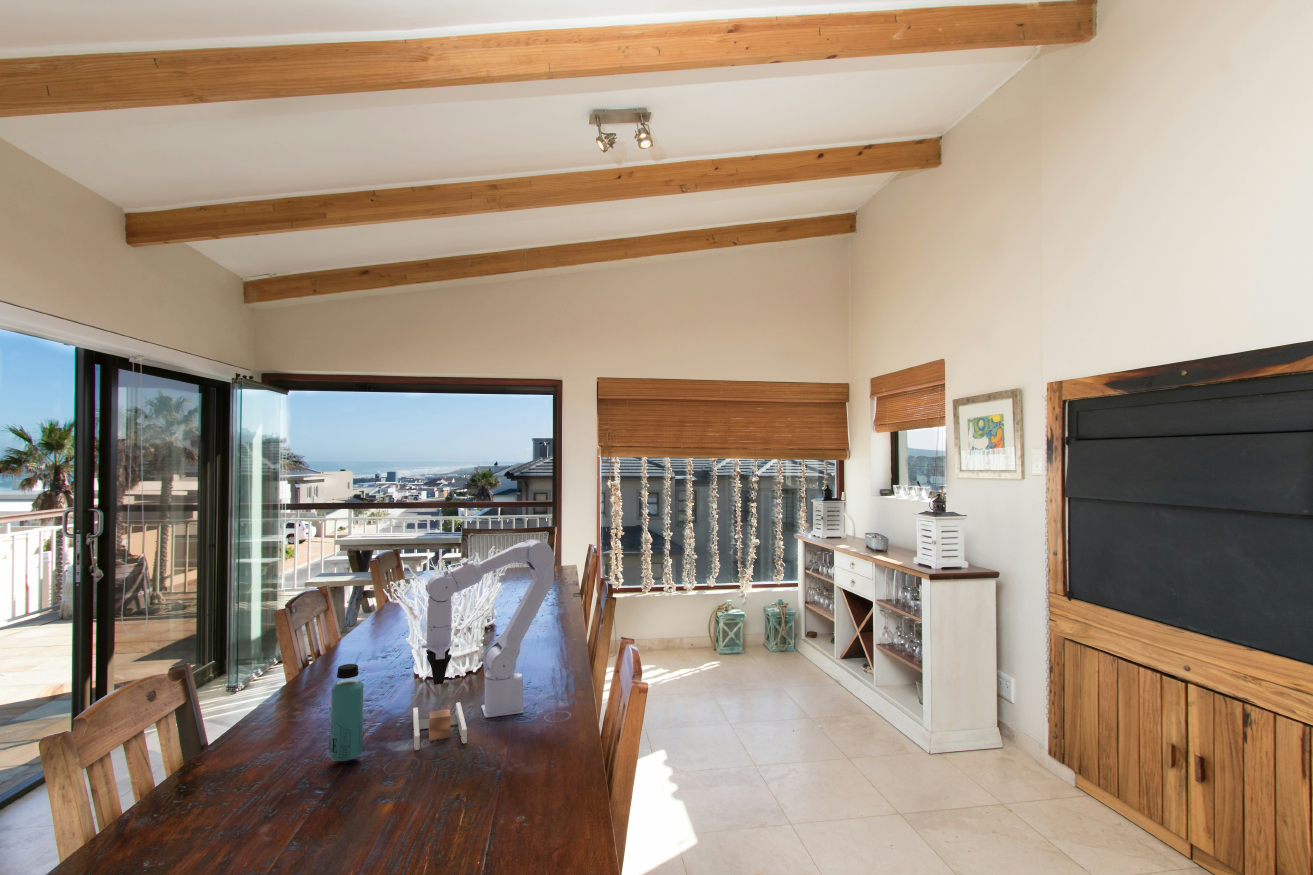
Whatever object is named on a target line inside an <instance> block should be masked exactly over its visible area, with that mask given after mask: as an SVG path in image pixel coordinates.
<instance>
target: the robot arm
mask: <svg viewBox="0 0 1313 875" xmlns="http://www.w3.org/2000/svg"><path fill="white" fill-rule="evenodd" d="M555 559H556V556H555V553H554V551H553V549H552V547H551V546H550V544H548V543H547V542H544V541H543V542H542V541H541V540H539V539H537V538H529V539H527V540H525V541H522V542H517V543H516V544H514V545H512V546H509V547H508V548H506V549H504V550H501V551H500V552H497V553H496V554H493V555H492V556H490V557H488V558H486V559H484V560H482V561H480V562H477V561H474V560H471V561H468V560H464V561H462V562H461V565H460V566H457V567H454V568H452V569H450V570H448V569H446V570H443V574H436V575H434V576H431V577H430V579H429V580H428V581H427V584H426V586H425V589H426V590H425V591H426V592H427V594H428V600H427V604H428V606H427V612H426V615H427V617H426V642H424V643H421V649H426V650H425V651H426V652H425V653H426V660H427V661H428V663H429V666H430V669H431V676H432V682H433V685H435V686H436V685H443V684H444V682H445V678H446V673H447V669H448V665H449V663H450V661H451V659H452V656H453V655H452V654H451V653H450V651H451V647H452V646H453V641H452V616H453V613H452V612H453V610H452V609H453V607H452V606H453V605H452V597H453V596H454V594H455V593H460V592H461V591H463V590H466V589H468V588H470V587H472V586H474V585H477V584H478V583H481V581H482V580H483V578H484V576H485V575H486V574H489V573H491V572H494V571H496V570H498V569H501V568H503V567H506V566H508V565H510V564H513V563H518V564H526V565H527V566H528V569H529V571H530V574H531V577H532V580H531V581H530V582H529V585H528V587H527V589H526V590H525V593H524V594H523V596H522V598H521V600H520V601H519V603H518V606H517V607H516V609H515V611H514V613H513V615H512V617H511V618H510V621H509V622H508V624H507V626H506V628H505V630H504V631H503V633H502V634H501V635H499V636H498V637H497V638H496V640H495V642H494V644H492V645H491V646H489V648H488V649H487V650H486V651H485V653H484V659H483V660H484V663H485V665H486V666H487V668H488V669H487V670H486V672H485V675H484V676H485V677H484V679H485V680H484V704H482V705H481V710H482V712H483V716H484V718H493V717H500V716H501V717H502V716H510V715H517V714H523V713H524V678H523V675H522V673H521V672H517V673H516V672H515V670H516V667H517V661H518V660H517V659H518V657H519V655H520V651H521V643H522V642H523V641H524V640H523V639H524V638H525V636H526V634H527V632H528V631H529V628H530V627H531V625H532V623H533V621H534V619H535V617H536V615H537V614H538V611H539V610H540V608H541V606H542V604H543V602H544V600H545V599H546V597H547V595H548V592H549V591H550V589H551V587H552V585H553V583H554V580H555Z"/></svg>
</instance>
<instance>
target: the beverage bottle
mask: <svg viewBox="0 0 1313 875" xmlns="http://www.w3.org/2000/svg"><path fill="white" fill-rule="evenodd" d="M358 676H359V665H358V664H356V663H346V664H345V663H344V664H341V665H339V666H338V667H337V673H336V678H338V679H342V680H339V681H337V682H336V683H335V684H334V685H333V686H332V688H331V689H330V692H331V695H330V696H331V703H330V705H331V706H330V707H331V708H330V714H329V715H330V723H329V726H330V731H329V742H328V743H329V744H328V745H329V751H328V752H329V757H330V759H331V760H332V761H336V762H346V761H350V760H353V759H357V758H358V757H360V756H361V755H362V753H363V750H364V740H365V739H364V735H365V734H364V721H365V719H364V688H365V685H364V683H363V682H361V680H359V679H357V678H356V677H358Z"/></svg>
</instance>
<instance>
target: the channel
mask: <svg viewBox="0 0 1313 875" xmlns="http://www.w3.org/2000/svg"><path fill="white" fill-rule="evenodd" d="M412 710H413V712H412V723H413V724H412V725H413V726H412V727H413V728H412V730H413V729H414V730H413V745H414V746H413V748H414V751H419V750H420V740H421V738H420V731H425V729H427V730H429V718H423V719H419V707H413V709H412ZM463 711H464V710H463V708H462V704H461V701H459V702H456V703H455V715H451V723H450V727H455V726H457V727H458V731H459V737H460V736H461V737H460V741H461V744H462V743H463V744H467V741H468V740H467V738H468V728H467V724H466V720H465V715H464V713H463Z"/></svg>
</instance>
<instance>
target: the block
mask: <svg viewBox="0 0 1313 875" xmlns="http://www.w3.org/2000/svg"><path fill="white" fill-rule="evenodd" d="M451 716H452V715H451V711H450V708H447V709H440V710H439V709H438V710H431V711H430V710H429V711H428V719H429V729H428V741H430V740H431V741H437V740H436V739H439V740H445V739H444V738H446V739H451V726H450V723H451Z"/></svg>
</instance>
